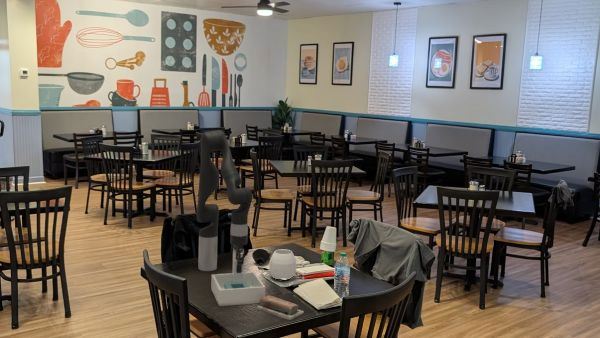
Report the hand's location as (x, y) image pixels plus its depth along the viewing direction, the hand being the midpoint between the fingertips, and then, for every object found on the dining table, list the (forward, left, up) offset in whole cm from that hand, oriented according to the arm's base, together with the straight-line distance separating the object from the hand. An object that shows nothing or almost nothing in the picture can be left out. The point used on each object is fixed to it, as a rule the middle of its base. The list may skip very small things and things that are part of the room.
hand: (237, 270), depth 242 cm
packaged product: (+20, +14, -12) cm, 27 cm away
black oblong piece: (-45, +24, -12) cm, 52 cm away
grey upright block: (0, 0, -3) cm, 3 cm away
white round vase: (-18, +27, -12) cm, 34 cm away
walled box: (0, 0, -12) cm, 12 cm away
